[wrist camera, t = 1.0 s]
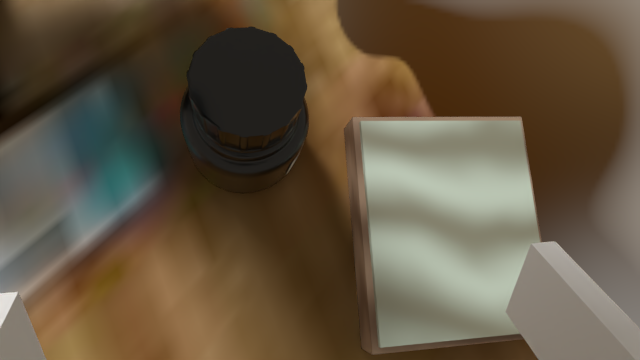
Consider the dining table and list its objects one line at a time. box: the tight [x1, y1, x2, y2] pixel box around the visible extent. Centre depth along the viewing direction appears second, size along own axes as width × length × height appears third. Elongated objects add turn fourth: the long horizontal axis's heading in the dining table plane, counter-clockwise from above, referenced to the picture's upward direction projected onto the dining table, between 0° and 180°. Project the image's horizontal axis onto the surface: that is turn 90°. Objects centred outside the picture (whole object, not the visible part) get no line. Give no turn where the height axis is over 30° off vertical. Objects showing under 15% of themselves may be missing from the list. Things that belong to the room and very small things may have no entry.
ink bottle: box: [180, 27, 309, 193], centre depth 32 cm, size 10×9×12 cm
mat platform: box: [344, 117, 542, 355], centre depth 37 cm, size 18×15×4 cm
